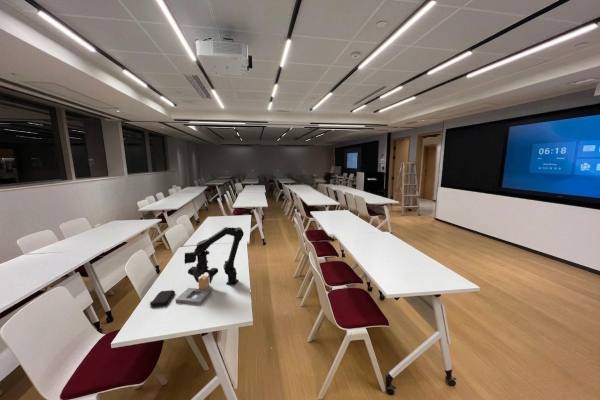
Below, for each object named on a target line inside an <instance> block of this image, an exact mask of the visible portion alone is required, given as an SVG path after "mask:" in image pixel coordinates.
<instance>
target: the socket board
mask: <svg viewBox="0 0 600 400" xmlns="http://www.w3.org/2000/svg"><path fill="white" fill-rule="evenodd" d="M194 294H195V295H197V296H195V298H194V297H193V298H192V297H191V296H192V295H194ZM211 294H212V289H208V288H206V289H199V288H194V287H187V289H185V290H184V291H183V292H181V294H180V295H179V296H178V297H177V298H175V303H176V304H188V305H197V306H201V304H203V302H205V301H206V300H207V298H208V297H209V296H210V295H211Z"/></svg>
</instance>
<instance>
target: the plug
mask: <svg viewBox="0 0 600 400" xmlns="http://www.w3.org/2000/svg"><path fill="white" fill-rule="evenodd" d="M208 287H210V282H209V275H201V276H200V277H199V280H198V289H208Z"/></svg>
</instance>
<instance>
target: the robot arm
mask: <svg viewBox="0 0 600 400" xmlns="http://www.w3.org/2000/svg"><path fill="white" fill-rule="evenodd" d="M226 235H228V236H231V237H233V240H232V245H231V247H230V248H231V249H230V251H229V255H228V258H227V260H224V264H223V271H224V273H225V275H227V281H226V284H225V285H232V286H235V285H237V283H238V282H239V279H237V275H238V273H237V269H236V267H235V259H236V256H237V252H238V248H239V244H240V242H241V241H242V239H243V237H244V231H243V228H242V227H240V226H237V227H229V226H225V227H223V228H222V229H221V230H219V231H218V232H216V233H214V234H212V235H211V236H210V237H209V238H207V239H202V240H201V241H199V242H197V244H196V248H195V249H194V251H190V252H184V259H183V261H184V264H193V263H195V262H196V261H197V263H196V265H195V266H191V267H190V268H189V269H188V270H187V275H189V276H193V278H194V280H195V282H196V284H197V283H198V280H199V279H200V278H201V277H202V276H204V275H205V274H206V273H207V276H209V285H211V284H212V283H213V282H212V281H213V278H214V277H215V276H216V275H217V274H218V273H219V269H218V268H217V267H211V268H210V269H209V265H208V263H209V261H208V256H207V255H210V251H209V250H208V249H209V248H210V247H211V245H213V244H214V243H215V242H217V241H219V240H220V239H222V238H223V237H225V236H226Z"/></svg>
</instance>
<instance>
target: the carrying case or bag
mask: <svg viewBox="0 0 600 400" xmlns="http://www.w3.org/2000/svg"><path fill="white" fill-rule="evenodd" d="M175 293H176V291H175V290H173V289H172V290H171V289H170V290H161V291H159V293H157V295H156V296H155V297H154V298H153V299H152V300H151V301H150V302H149V306H151V307H152V308H159V307H166V306H167V305H169V303H170V302H171V300H172V299H173V296H174V295H175Z"/></svg>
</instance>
